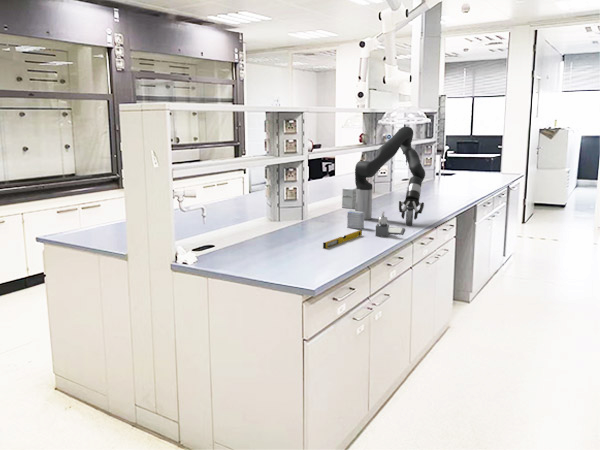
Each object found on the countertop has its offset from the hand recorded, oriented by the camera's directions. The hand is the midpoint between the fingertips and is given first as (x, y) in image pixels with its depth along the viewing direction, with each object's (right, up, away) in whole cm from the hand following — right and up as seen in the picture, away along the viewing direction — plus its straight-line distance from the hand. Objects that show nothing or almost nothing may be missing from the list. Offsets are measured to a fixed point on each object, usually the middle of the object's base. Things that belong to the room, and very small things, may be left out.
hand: (408, 218), depth 286 cm
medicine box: (-29, -5, -4) cm, 30 cm away
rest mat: (-11, -7, -13) cm, 18 cm away
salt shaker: (+1, -4, +2) cm, 5 cm away
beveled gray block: (-18, -9, -22) cm, 30 cm away
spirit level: (-38, -12, -36) cm, 54 cm away
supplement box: (-27, +8, +58) cm, 64 cm away
